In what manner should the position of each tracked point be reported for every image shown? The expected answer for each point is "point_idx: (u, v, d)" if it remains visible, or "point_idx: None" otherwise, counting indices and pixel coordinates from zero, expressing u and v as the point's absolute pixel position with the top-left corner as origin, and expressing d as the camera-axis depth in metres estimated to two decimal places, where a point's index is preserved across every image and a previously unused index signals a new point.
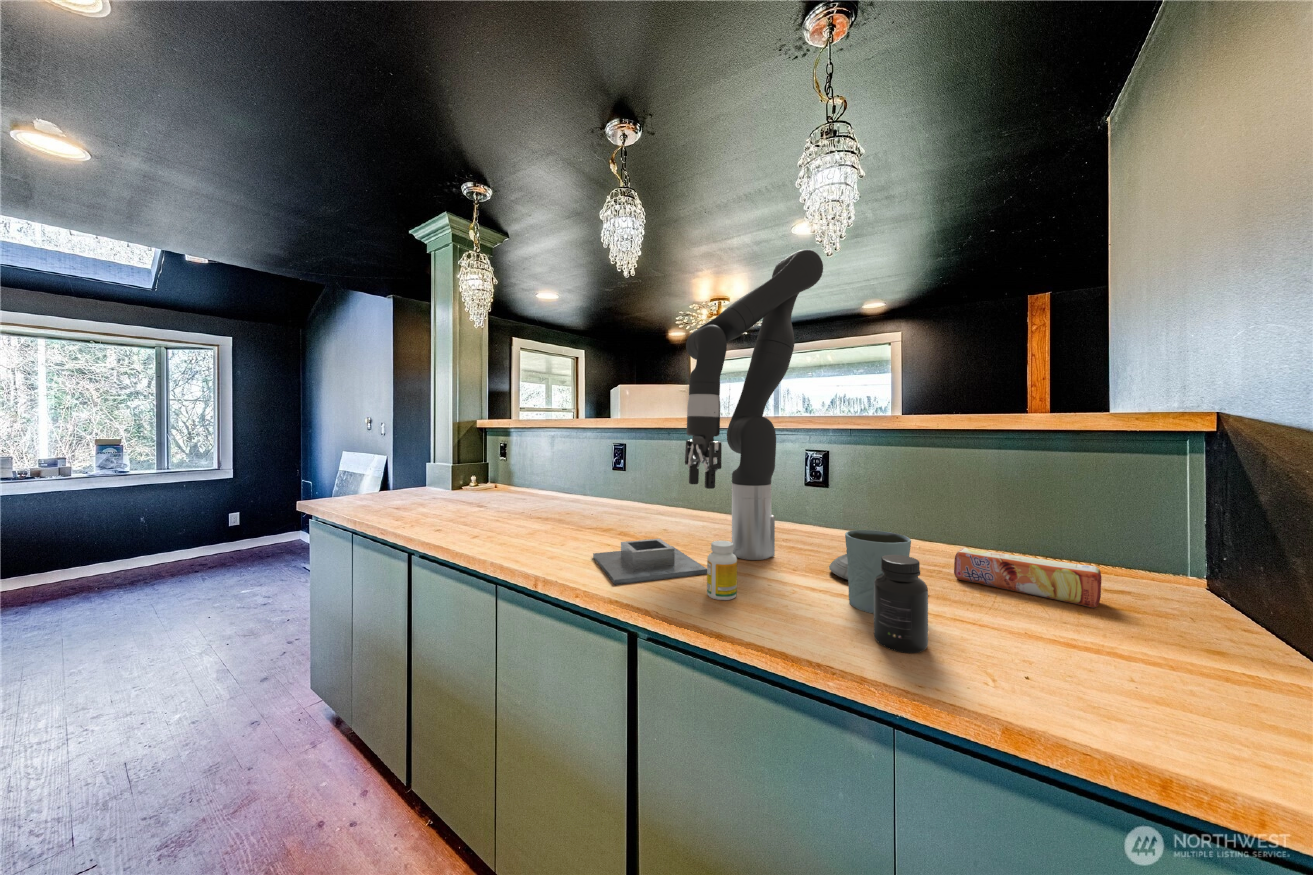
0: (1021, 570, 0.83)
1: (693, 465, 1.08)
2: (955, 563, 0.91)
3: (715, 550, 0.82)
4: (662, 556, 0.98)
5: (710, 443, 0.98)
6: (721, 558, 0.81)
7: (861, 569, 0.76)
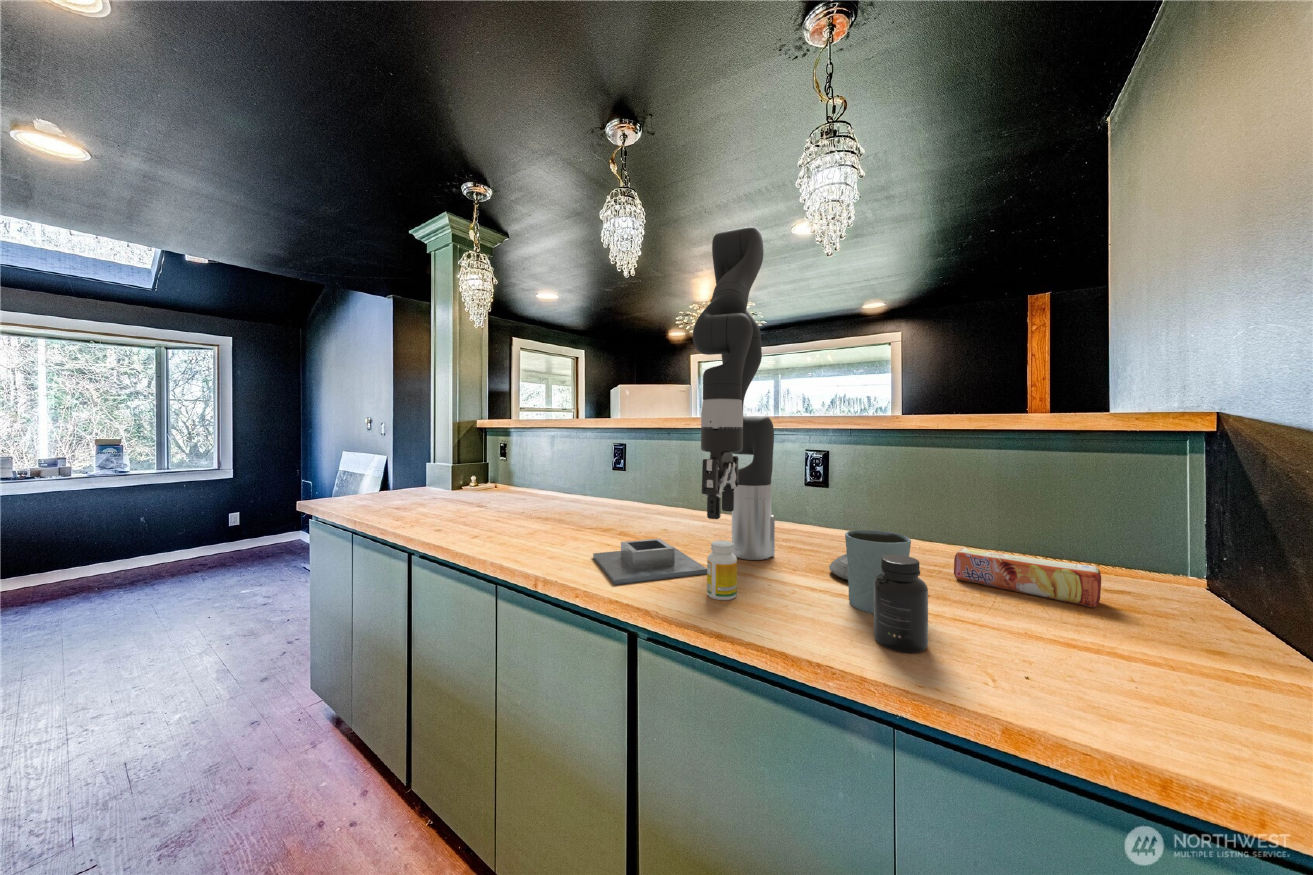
0: (1021, 570, 0.83)
1: None
2: (955, 563, 0.91)
3: (715, 550, 0.82)
4: (662, 556, 0.98)
5: (737, 458, 0.88)
6: (721, 558, 0.81)
7: (861, 569, 0.76)
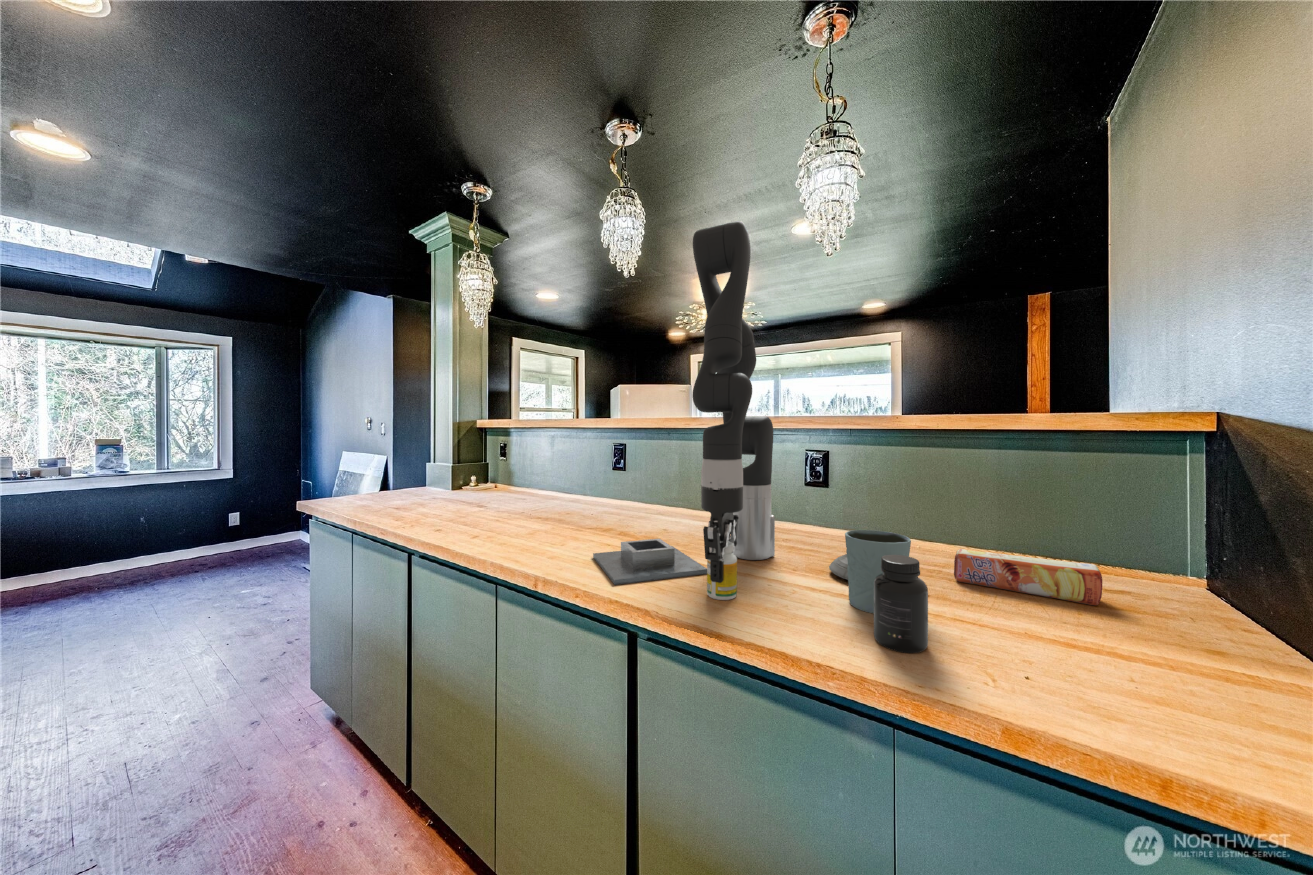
0: (1024, 570, 0.83)
1: None
2: (955, 565, 0.90)
3: (715, 550, 0.82)
4: (662, 556, 0.98)
5: (737, 517, 0.88)
6: None
7: (861, 569, 0.76)
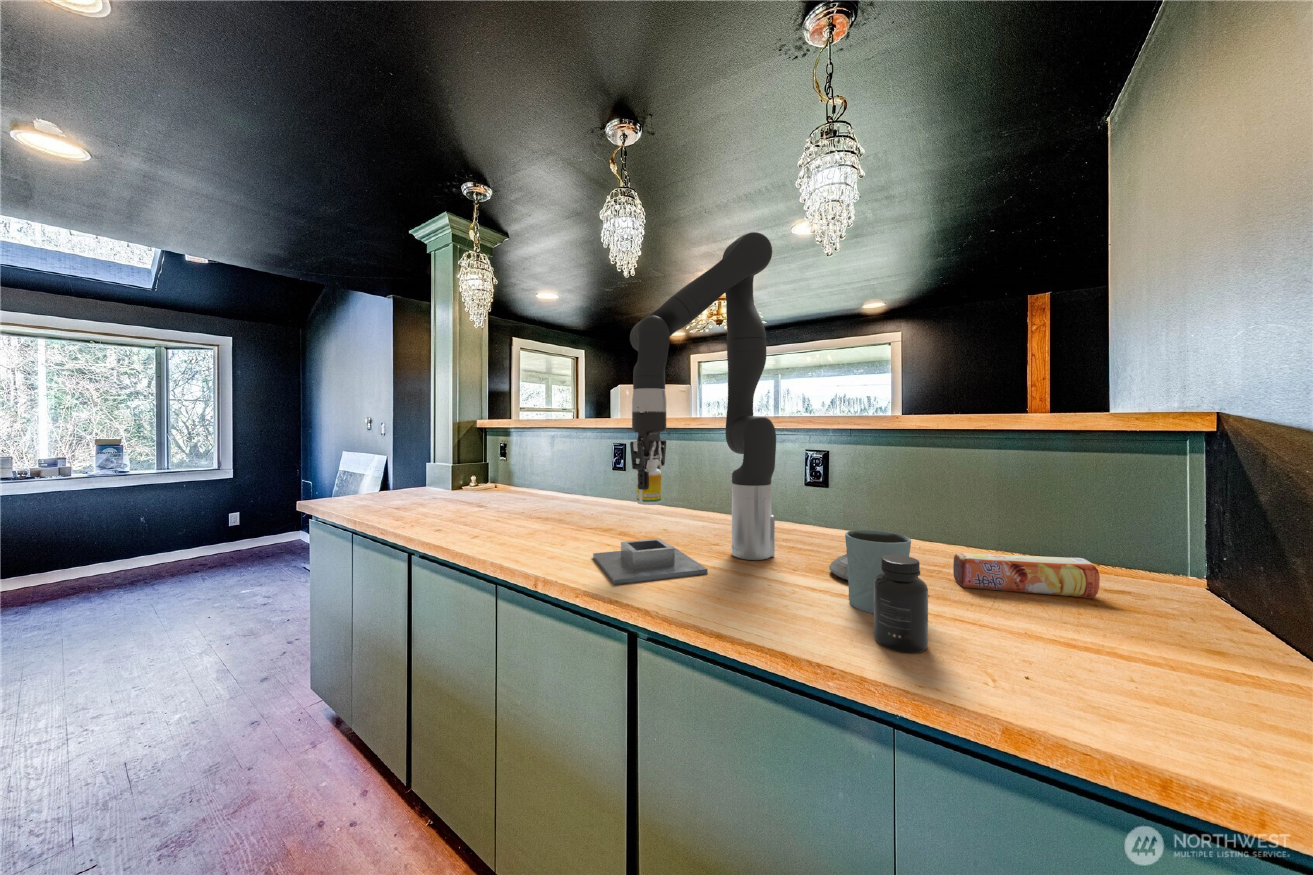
0: (1031, 571, 0.83)
1: None
2: (964, 571, 0.86)
3: None
4: (662, 556, 0.98)
5: (665, 442, 1.05)
6: None
7: (861, 569, 0.76)
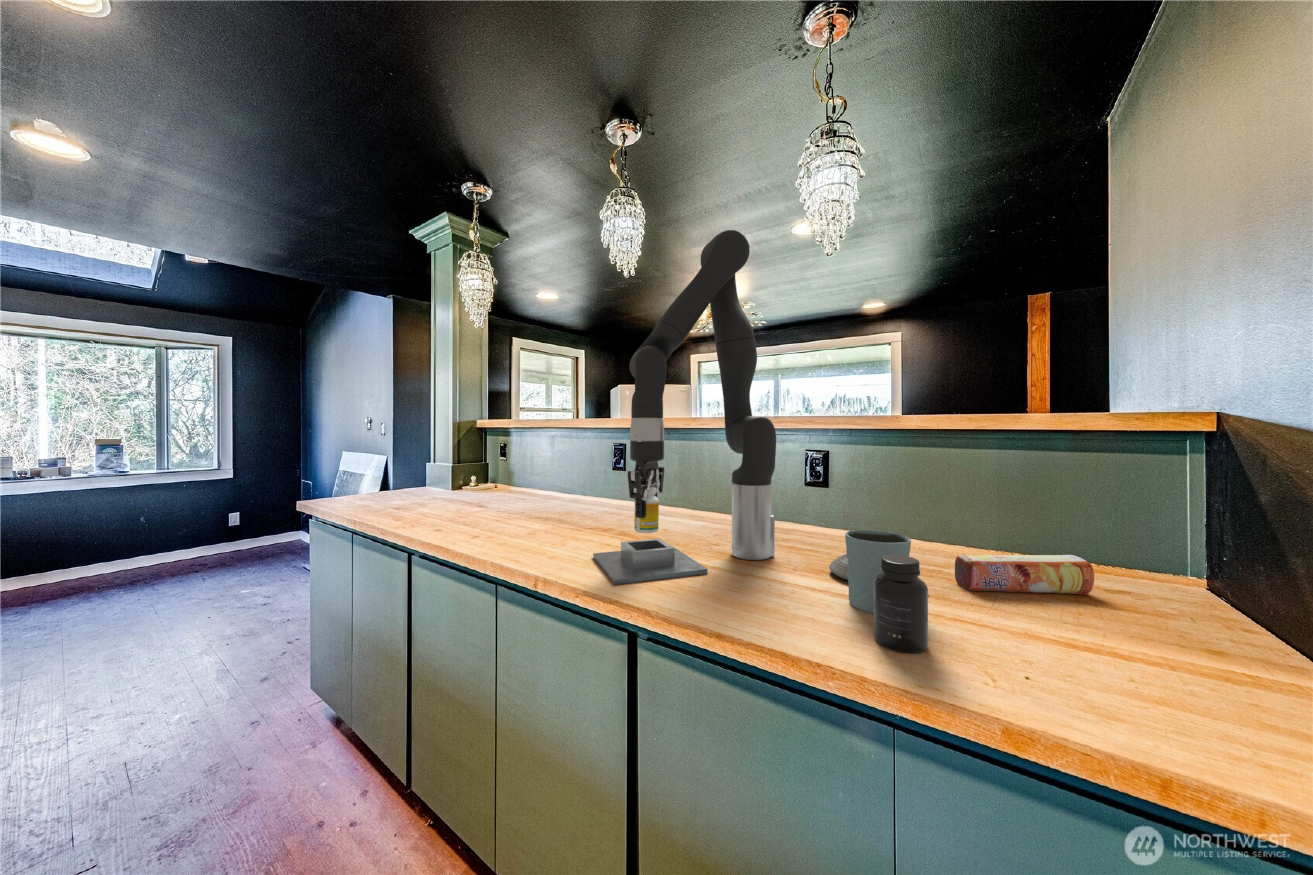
0: (1034, 571, 0.83)
1: None
2: (971, 574, 0.85)
3: None
4: (662, 556, 0.98)
5: (663, 469, 1.06)
6: None
7: (861, 569, 0.76)
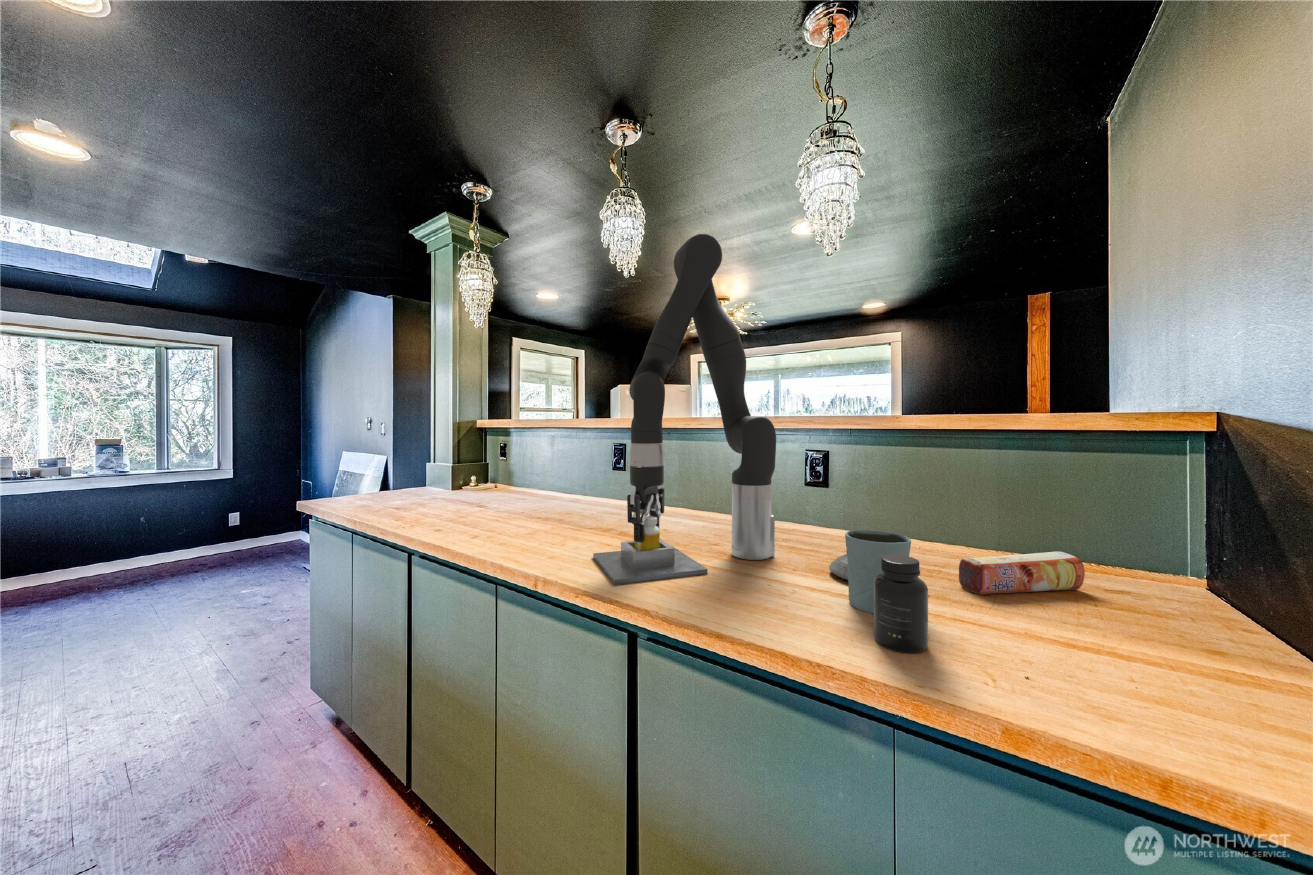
0: (1036, 570, 0.83)
1: None
2: (982, 577, 0.83)
3: None
4: (662, 556, 0.98)
5: (663, 490, 1.06)
6: (645, 529, 0.99)
7: (861, 569, 0.76)
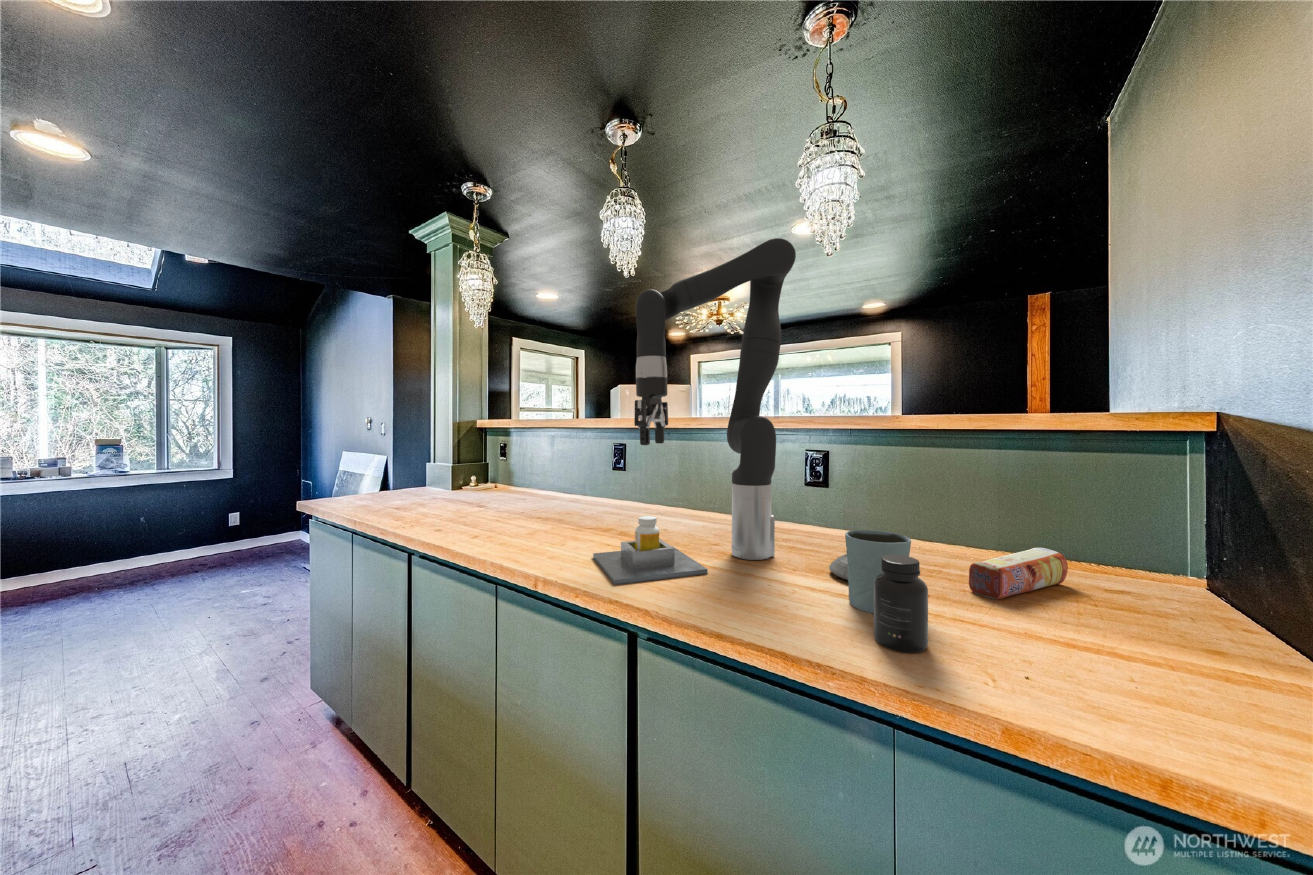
0: (1037, 569, 0.84)
1: None
2: (1000, 582, 0.80)
3: (640, 523, 1.00)
4: (662, 556, 0.98)
5: (667, 403, 1.15)
6: (645, 529, 0.99)
7: (861, 569, 0.76)
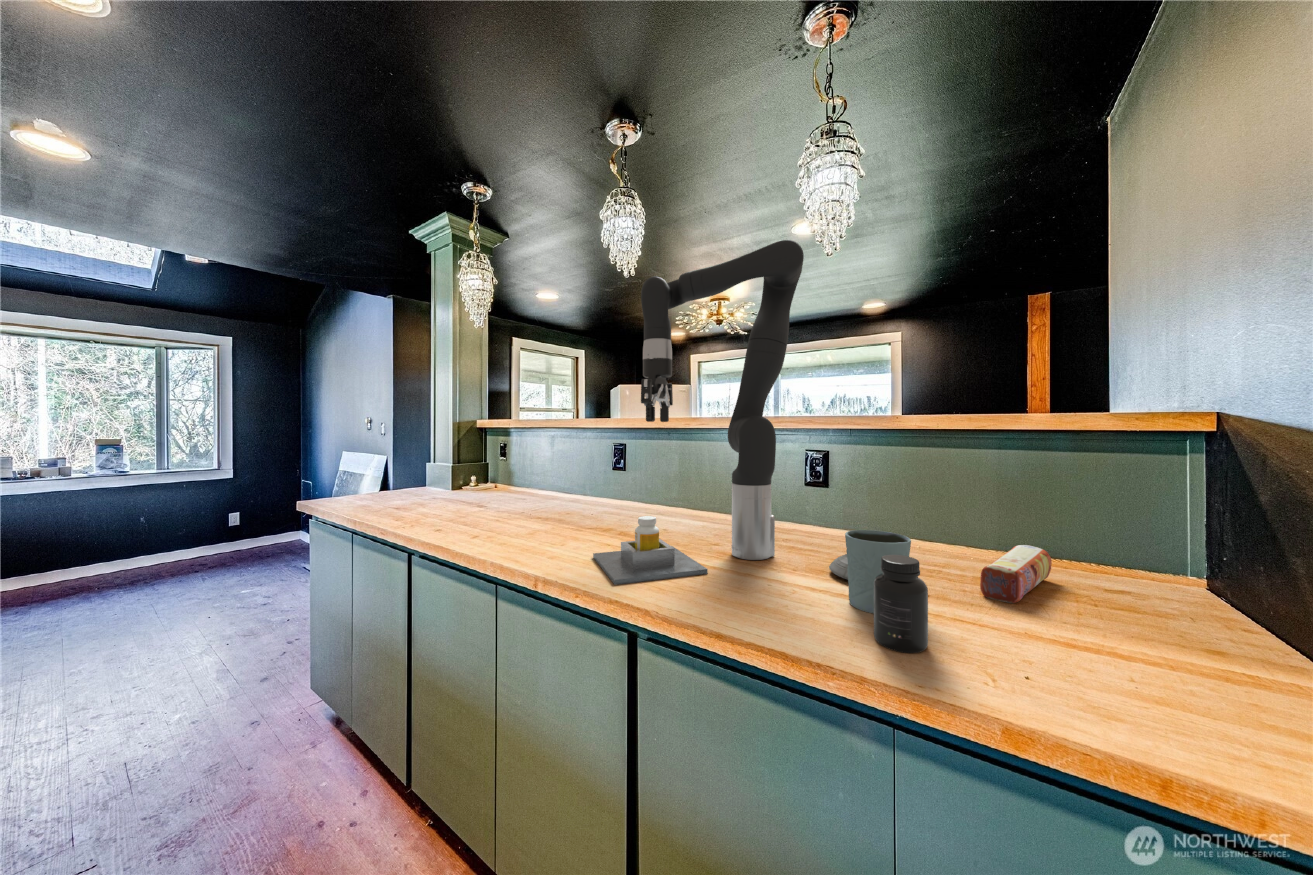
0: (1037, 568, 0.84)
1: None
2: (1017, 585, 0.78)
3: (640, 523, 1.00)
4: (662, 556, 0.98)
5: (671, 385, 1.23)
6: (644, 529, 0.99)
7: (861, 569, 0.76)
